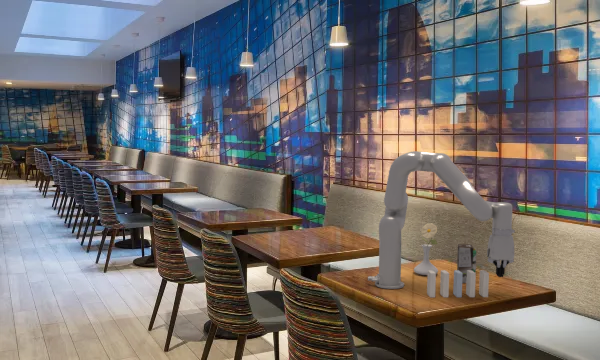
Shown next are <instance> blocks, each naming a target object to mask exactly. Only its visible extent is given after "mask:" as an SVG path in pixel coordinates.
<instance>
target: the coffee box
mask: <svg viewBox="0 0 600 360" xmlns="http://www.w3.org/2000/svg"><path fill="white" fill-rule="evenodd" d="M473 248H474V246H473V245H472V244H471V243H470V244H465V243H461V244H459V243H458V244H457V253H456V255H457V260H456V270H459V271H460V272H462V273H463V275H462V284H466V280H467V270H473Z"/></svg>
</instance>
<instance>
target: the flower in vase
mask: <svg viewBox="0 0 600 360" xmlns="http://www.w3.org/2000/svg"><path fill="white" fill-rule="evenodd" d="M420 232H421V239H422V240H423V241H425V242H426V243H427V244H421V247H422V250H423V260H422V261H421V262H420V263H419V264H417V265H416V266H415V267H414V268H413V272H414V273H416V274H418V275H422V276H428V270H433V271H434V272H435V273H436V275H437V274H438V272H439V270H438V268H437V267H436V266H435V265H434V264H433V263H431V261H430V260H429V259H430V257H429V256H430V252H431V251H430V250H431V248H432V247H433V245H438V242H437V240H436V239H435V238H434V237H435V235H436V234H437V232H438V227H437V225H436V224H434V223H432V222H430V223H429V222H427V224H424V226H422V228H421V230H420ZM433 238H434V239H433ZM427 239H430V240H429V242H428V240H427ZM430 243H431V244H432V245H431V244H430Z"/></svg>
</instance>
